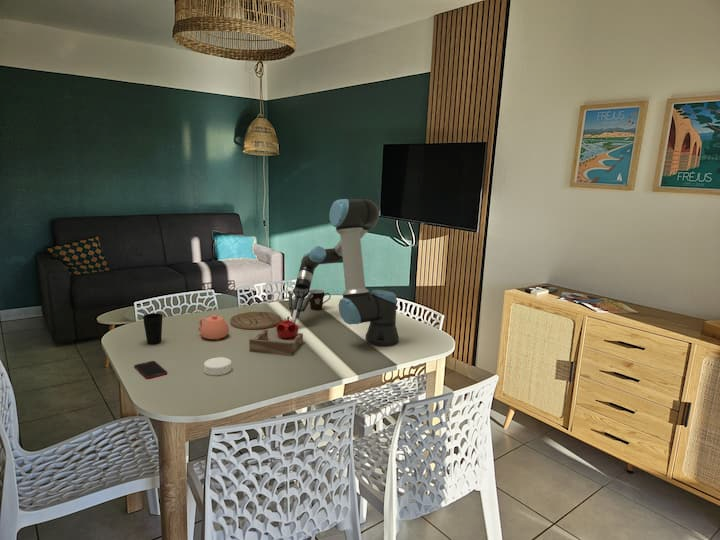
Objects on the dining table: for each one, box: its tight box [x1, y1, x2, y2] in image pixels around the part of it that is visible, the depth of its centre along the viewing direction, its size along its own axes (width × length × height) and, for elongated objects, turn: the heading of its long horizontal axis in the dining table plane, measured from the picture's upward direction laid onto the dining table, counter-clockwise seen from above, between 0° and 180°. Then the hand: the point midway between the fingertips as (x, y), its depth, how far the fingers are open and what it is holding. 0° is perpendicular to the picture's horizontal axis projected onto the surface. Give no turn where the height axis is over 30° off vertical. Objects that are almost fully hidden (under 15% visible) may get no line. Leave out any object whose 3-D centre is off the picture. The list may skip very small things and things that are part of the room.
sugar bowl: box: [197, 314, 230, 341], centre depth 214 cm, size 12×14×10 cm
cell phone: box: [133, 360, 169, 380], centre depth 177 cm, size 8×15×1 cm, turn 42°
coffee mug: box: [309, 288, 332, 311], centre depth 263 cm, size 12×9×10 cm
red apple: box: [275, 316, 299, 339], centre depth 218 cm, size 10×10×9 cm
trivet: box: [229, 311, 282, 331], centre depth 237 cm, size 25×25×2 cm
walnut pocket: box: [248, 329, 304, 357], centre depth 205 cm, size 16×18×5 cm
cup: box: [142, 312, 163, 346], centre depth 204 cm, size 8×8×12 cm
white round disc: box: [203, 356, 233, 376], centre depth 179 cm, size 10×10×4 cm
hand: (293, 323), depth 226 cm, fingers closed
